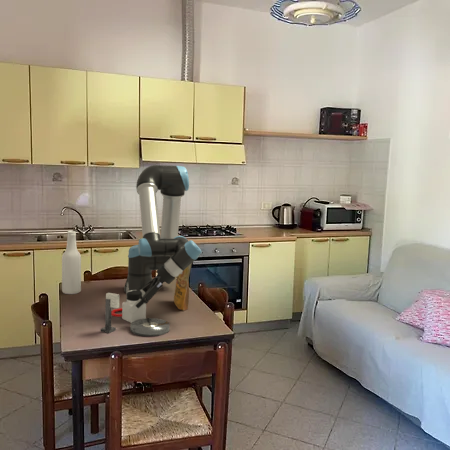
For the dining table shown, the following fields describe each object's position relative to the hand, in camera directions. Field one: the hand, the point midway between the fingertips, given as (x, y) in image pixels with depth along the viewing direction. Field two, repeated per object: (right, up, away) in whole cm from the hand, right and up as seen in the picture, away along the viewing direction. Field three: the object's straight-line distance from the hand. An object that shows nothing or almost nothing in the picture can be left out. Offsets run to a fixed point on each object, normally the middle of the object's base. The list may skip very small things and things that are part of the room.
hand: (131, 306), depth 191 cm
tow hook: (-6, -5, +8) cm, 11 cm away
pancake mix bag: (+19, -4, +23) cm, 30 cm away
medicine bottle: (+1, -6, +1) cm, 6 cm away
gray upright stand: (-6, -7, -13) cm, 16 cm away
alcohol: (-37, +1, +37) cm, 52 cm away
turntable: (+9, -7, -10) cm, 15 cm away
